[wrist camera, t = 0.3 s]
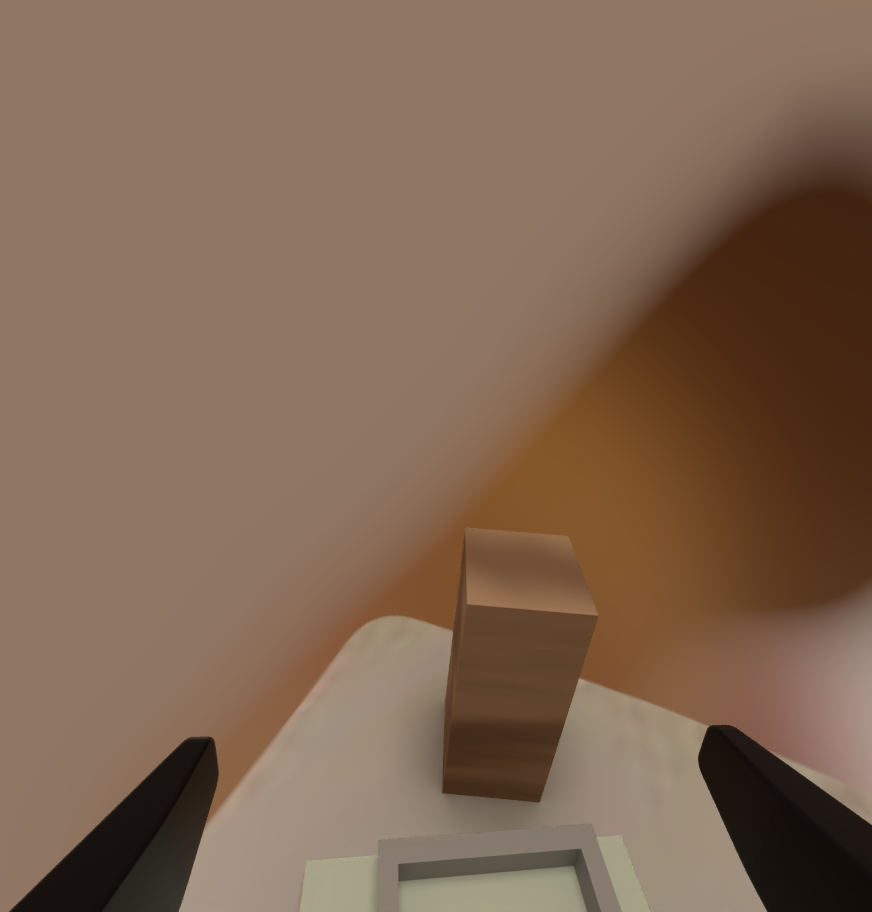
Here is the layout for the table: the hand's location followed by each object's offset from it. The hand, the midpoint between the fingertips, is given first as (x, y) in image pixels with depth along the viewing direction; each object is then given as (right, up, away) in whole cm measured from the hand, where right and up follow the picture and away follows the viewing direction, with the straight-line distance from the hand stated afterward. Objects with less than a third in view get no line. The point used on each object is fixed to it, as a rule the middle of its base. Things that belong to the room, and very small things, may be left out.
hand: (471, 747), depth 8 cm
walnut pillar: (+2, -11, +16) cm, 20 cm away
